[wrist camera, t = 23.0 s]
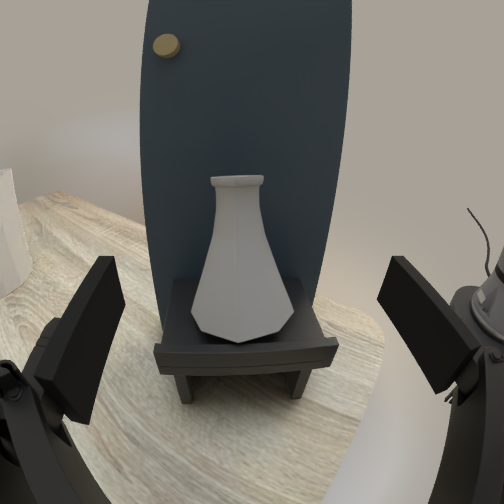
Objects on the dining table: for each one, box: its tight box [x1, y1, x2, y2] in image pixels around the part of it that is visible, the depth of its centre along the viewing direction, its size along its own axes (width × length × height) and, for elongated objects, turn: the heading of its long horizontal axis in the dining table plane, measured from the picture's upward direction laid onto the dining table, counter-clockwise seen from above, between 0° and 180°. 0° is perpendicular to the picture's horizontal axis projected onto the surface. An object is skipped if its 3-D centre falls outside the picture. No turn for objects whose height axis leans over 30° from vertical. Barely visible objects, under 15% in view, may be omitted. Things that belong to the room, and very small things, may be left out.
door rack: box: [140, 0, 352, 404], centre depth 18 cm, size 14×16×36 cm
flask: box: [191, 175, 294, 343], centre depth 18 cm, size 7×7×10 cm
